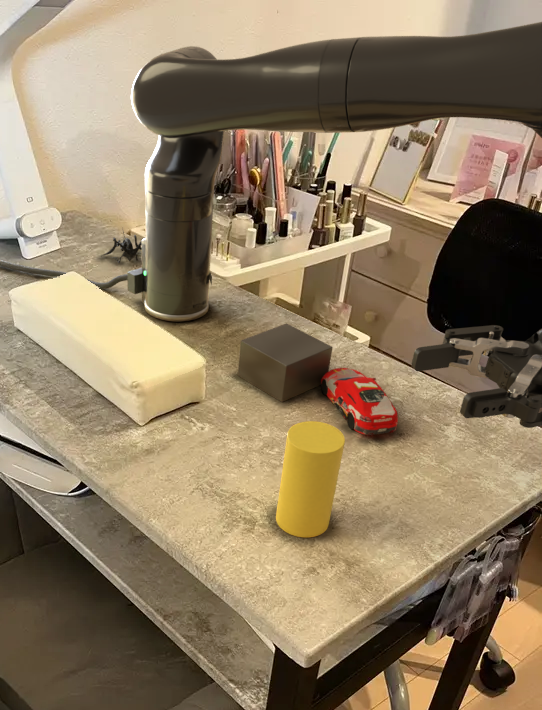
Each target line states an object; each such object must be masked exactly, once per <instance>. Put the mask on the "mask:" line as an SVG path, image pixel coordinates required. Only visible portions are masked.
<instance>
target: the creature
mask: <svg viewBox="0 0 542 710" xmlns="http://www.w3.org/2000/svg"><path fill="white" fill-rule="evenodd" d="M122 230H124V228H123V227H122ZM124 232H125V231H122V234H123V238H124V239H123V240H122V241H121V240H120V239H118V240H117V238H116V237H112V241H113V246H112V248H111V249H110V250H109V251H107V252H106V253H104V254H101V255H100V258H103V257H104V256H109V255H111V254H112V253H113V252H114V251H115V250H116V248H118V247H120V251H121V252H122V254H121V255H120V257H119V259H118V256H117V257H116V256H112V258H113V259H116V261H117V263H118V264H120V263H121V260H122V258H126V259H127V260H128V262H129V263H130V262H131V261H132V259H133V258H134V257H135V261H137V262H138V261H139V260H138V255H137V254H139V253H140V251H142V240H143V239H144V238H145V236H144V237H143V238H142V239H141V240H140V241H139V243H138V238H137V235H136V234H134V235H133V237H134V245H135V248H134V246H133V243H132V241H131V239H130V238H128V237H126V236H125V234H124ZM139 250H140V251H139Z"/></svg>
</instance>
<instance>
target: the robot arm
mask: <svg viewBox="0 0 542 710" xmlns="http://www.w3.org/2000/svg"><path fill="white" fill-rule="evenodd" d="M130 100H131V106H132V109H133V112H134V114H135V116H136V118H137V119H138V121H139V122H140V124H141V125H143V126H144V127H145V129H146V130H148V131H149V132H151V133H152V134H155V135H157V136H158V139H157V143H156V146H155V148H154V151H153V153H152V155H151V157H150V159H148V161H147V164H146V165H145V166H146V167H145V169H144V234H145V235H144V237H145V238H144V237H143V238H144V239H143V238H142V239H143V240H142V239H141V240H142V245H141V247H142V250H141V267H138V268H136V269H132V270H128V271H127V273H125V274H120V275H116V276H115V277H113V278H112V279H110V280H109V281H105V282H98V281H94V280H90V279H88V278H86V279H87V280H88V281H90V282H91V283H93V284H95V285H96V286H98V287H100V288H101V290H105V289H111V288H113V287H114V286H116V285H117V284H119V283H121V282H126V281H127V291H128V292H130V293H132V294H134V295H138V294H140V293H141V303H142V304H144V311H145V312H146V313H147V314H148V315H150V316H151V317H152V318H156V319H158V320H162V321H167V322H189V321H194V320H197V319H199V318H202V317H204V316H205V315H206V314H207V313H208V311H209V305H210V301H209V296H210V295H209V293H210V285H211V287H212V283H213V275H212V273H211V257H212V256H211V255H212V237H213V220H214V219H213V215H214V198H215V197H214V195H215V183H216V182H215V181H216V176H217V172H218V169H219V167H220V164H221V159H222V155H223V154H222V153H223V146H224V145H223V144H224V135H225V134H224V133H225V131H239V130H240V131H241V130H250V131H251V130H252V131H264V132H265V131H266V132H280V133H281V132H282V133H285V132H287V133H318V134H320V133H321V134H322V133H323V134H329V133H332V134H336V133H338V134H340V133H342V134H343V133H364V132H375V131H381V130H383V131H384V130H389V129H394V128H399V127H404V126H408V125H412V124H417V123H421V122H426V121H427V122H428V121H432V120H437V119H445V118H447V119H448V118H467V119H484V120H485V119H486V120H498V121H499V120H500V121H510V122H517V123H520V124H522V125H523V126H525V127H526V128H528V129H529V128H530V129H531V130H533V131H534V133H536V134H537V136H539V137H540V138H541V139H542V21H538V22H534V23H533V22H532V23H528V24H524V25H523V24H522V25H519V26H512V27H507V28H501V29H496V30H490V31H485V32H478V33H472V34H464V35H455V36H435V35H388V36H387V35H385V36H383V35H381V36H357V37H345V38H331V39H323V40H316V41H311V42H305V43H300V44H294V45H290V46H286V47H282V48H277V49H274V50H270V51H267V52H261V53H258V54H254V55H252V56H246V57H239V58H229V59H228V58H227V59H226V58H225V59H220V58H219V59H217V57H215V55H214V54H213V53H212V52H211V51H209V50H207V49H205V48H204V47H200V46H193V45H190V46H189V45H188V46H184V47H180V48H177V49H173V50H170V51H166V52H164V53H160V54H159V55H156V56H155V57H153V58H152V59H150V60H149V61H148V62H146V63H145V64H144V65H143V67H142V68H141V69H140V70H139V71H138V73H137V75H136V76H135V79H134V81H133V84H132V88H131V94H130ZM0 267H3V268H7V269H10V270H14V271H19V272H23V273H26V274H27V273H29V274H34V275H39V276H48V277H54V278H58V277H57V276H60V275H63V274H66V273H67V272H66V271H60V270H55V269H53V270H52V269H46V268H39V267H38V268H37V267H33V266H28V265H23V264H18V263H14V262H10V261H6V260H3V259H0ZM503 331H504V327H503V326H500V325H497V324H491V325H483V326H482V325H481V326H470V327H460V328H448V329H446V330H445V333H444V337H443V340H442V344H433V345H426V346H420V347H416V349H415V350H414V351H413V355H412V359H411V363H410V364H411V365H410V366H411V368H412V369H413V370H414V371H416V372H424V371H433V370H439V369H445V368H449V367H450V368H451V367H452V368H457V369H463V370H466V371H467V372H468V375H470V376H473V377H478V378H484V379H488V380H490V381H492V382H494V383H495V384H496V385H497V386H498V388H491V389H486V390H478V391H472V392H467V393H466V394H465V395H464V396H463V398H462V402H461V406H460V409H459V413H460V415H462V417H464V418H465V419H473V418H478V419H481V418H487V417H495V416H500V415H501V416H503V417H504V418H508V419H513V418H517V419H519V425H520V426H521V427H523V428H526V429H527V428H528V429H531V428H536V427H542V411H540V410H541V409H542V328H540V329H539V330H537V331H536V332H535V333H534V334H533V335H531V336H530V337H529V338H527V339H526V340H509V339H508V340H506V339H505V338H503V337H502V334H503ZM464 356H465V357H466V356H471V358H470V359H467V358H463V357H464ZM482 356H488V357H487V360H486V364H485V366H482V365H481V364H480V361H481V359H482Z"/></svg>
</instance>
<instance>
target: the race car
mask: <svg viewBox="0 0 542 710" xmlns="http://www.w3.org/2000/svg"><path fill="white" fill-rule="evenodd" d="M320 388H321V392H322V394H323V395H324V396H327V398H328V399H329V401H331V403H332V404H333V405H334V407H335V408H336V409H337V411H338V412H339V413H340V415H341V416H342V417H343V418H344V420H346V423H347V426H348V428H349V429H350V430H354V431H355V432H357V433H359V434H362V435H367V436H368V435H369V436H374V435H382V434H388V433H390V434H391V433H394V432H395V431H397V427H398V422H399V417H398V411H397V408H396V407H395V405H393V402H392V401H391V400H390V398H389V397H388V395H387V393H386V392H385V391H384V389H383V388H382V387H381V386H380V384H378V382H377V381H376V377H367V376H366V375H365V374H364V373H362V372H361V371H359V370H356V369H353V368H349V367H336V368H332V369H329V372H327V373H326V374H324V376H323V377H322V379H321V385H320Z"/></svg>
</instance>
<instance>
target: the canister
mask: <svg viewBox="0 0 542 710" xmlns="http://www.w3.org/2000/svg"><path fill="white" fill-rule="evenodd" d="M286 433H287V434H286V440H285V447H284V455H283V461H282V462H283V463H282V469H281V476H280V485H279V490H278V498H277V506H276V513H275V521H276V524H277V526H278V527H279V528H280V529H281V530H282V531H284V532H285V533H287V534H289V535H291V536H294V537H298V538H314V537H318V536H321V535H322V534H324V533H325V532H326V531H327V530H328V528H329V526H330V520H331V514H332V510H333V505H334V499H335V494H336V489H337V484H338V479H339V474H340V469H341V465H342V464H341V463H342V459H343V455H344V454H343V453H344V449H345V444H346V437H345V435H344V434H343V431H341V430H340V429H339V428H337V427H336V426H334V425H332V424H329V423H326V422H323V421H315V420H308V421H307V420H306V421H300V422H298V423H295V424H293V425H292V426H290V428H289V429H288V430H287V432H286Z"/></svg>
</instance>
